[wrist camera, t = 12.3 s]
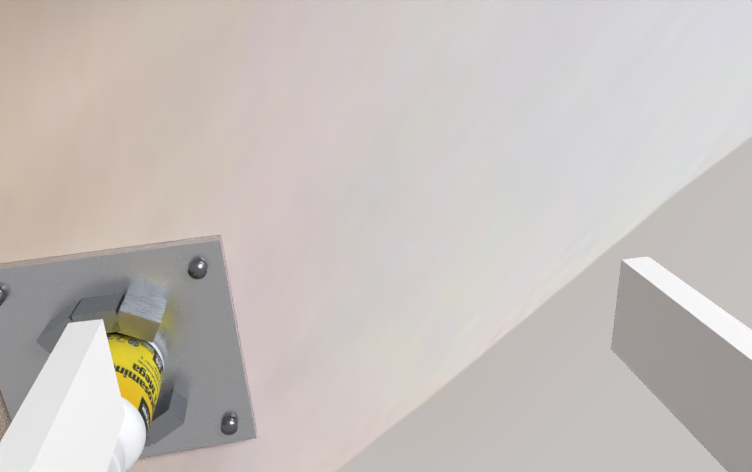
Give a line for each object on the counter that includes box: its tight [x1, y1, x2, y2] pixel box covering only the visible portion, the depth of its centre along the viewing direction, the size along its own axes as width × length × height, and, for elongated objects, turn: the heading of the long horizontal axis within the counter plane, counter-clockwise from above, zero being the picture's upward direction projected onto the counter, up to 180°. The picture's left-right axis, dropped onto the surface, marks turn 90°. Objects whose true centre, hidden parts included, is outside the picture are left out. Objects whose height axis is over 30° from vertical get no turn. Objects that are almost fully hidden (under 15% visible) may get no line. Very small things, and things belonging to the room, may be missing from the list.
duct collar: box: [0, 235, 256, 458], centre depth 42 cm, size 16×16×4 cm
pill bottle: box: [106, 332, 164, 472], centre depth 38 cm, size 6×6×11 cm
